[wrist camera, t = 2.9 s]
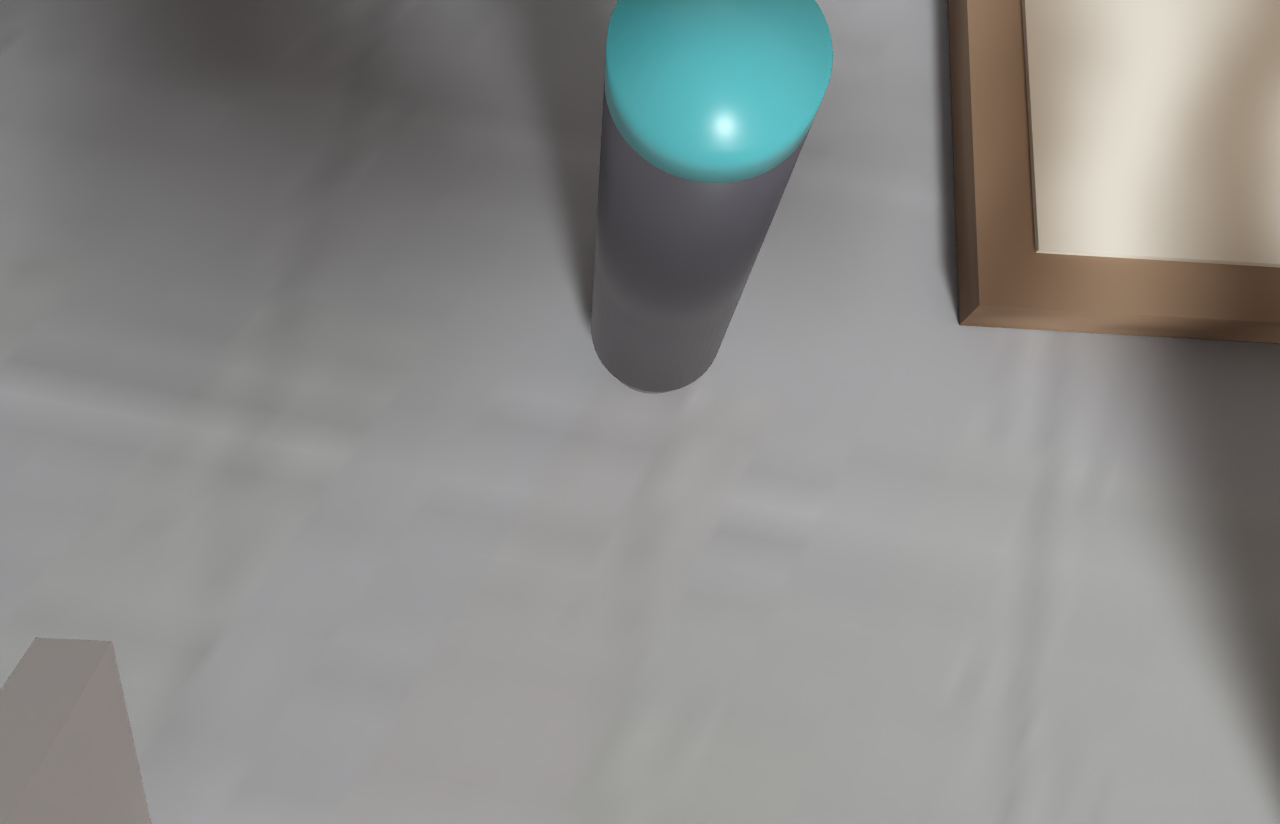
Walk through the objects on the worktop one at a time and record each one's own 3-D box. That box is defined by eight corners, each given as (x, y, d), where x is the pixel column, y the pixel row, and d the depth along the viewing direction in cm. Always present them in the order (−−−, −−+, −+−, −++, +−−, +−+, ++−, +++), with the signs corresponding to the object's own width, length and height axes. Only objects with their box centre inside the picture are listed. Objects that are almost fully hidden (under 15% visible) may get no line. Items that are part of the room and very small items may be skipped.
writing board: (959, 325, 29) (982, 302, 28) (941, -183, 33) (960, -229, 32) (1546, 358, 30) (1602, 338, 28) (1457, -142, 34) (1502, -185, 33)
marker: (587, 401, 28) (601, 142, 15) (593, 282, 29) (611, -59, 16) (713, 408, 28) (833, 157, 15) (716, 289, 29) (832, -43, 16)
